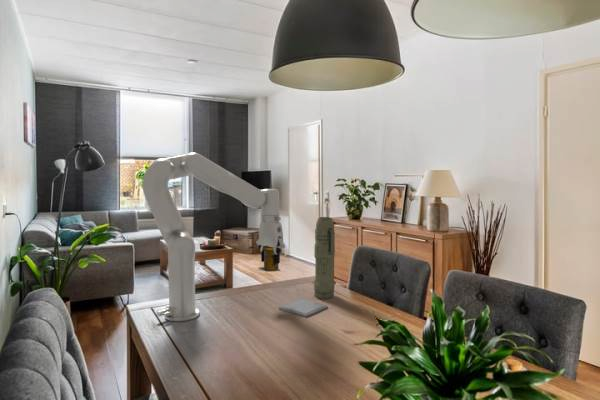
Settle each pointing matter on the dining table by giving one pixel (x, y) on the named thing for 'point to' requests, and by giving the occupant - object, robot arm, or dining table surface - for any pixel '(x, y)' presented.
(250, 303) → the dining table surface
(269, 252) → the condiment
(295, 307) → the plate
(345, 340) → the dining table surface
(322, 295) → the thermos
